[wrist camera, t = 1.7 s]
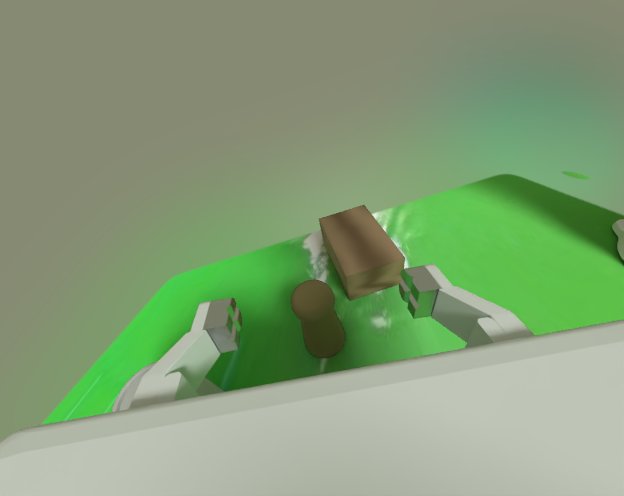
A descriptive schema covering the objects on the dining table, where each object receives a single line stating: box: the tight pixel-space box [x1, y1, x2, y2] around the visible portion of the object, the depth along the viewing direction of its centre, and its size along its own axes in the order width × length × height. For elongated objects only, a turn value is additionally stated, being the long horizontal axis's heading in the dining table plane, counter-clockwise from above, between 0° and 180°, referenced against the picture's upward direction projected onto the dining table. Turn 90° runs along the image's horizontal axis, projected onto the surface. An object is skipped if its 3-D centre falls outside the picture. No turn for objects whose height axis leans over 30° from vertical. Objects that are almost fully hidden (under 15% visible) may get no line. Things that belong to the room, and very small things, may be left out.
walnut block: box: [319, 205, 405, 300], centre depth 43 cm, size 9×15×6 cm, turn 14°
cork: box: [291, 280, 346, 358], centre depth 32 cm, size 6×6×11 cm
